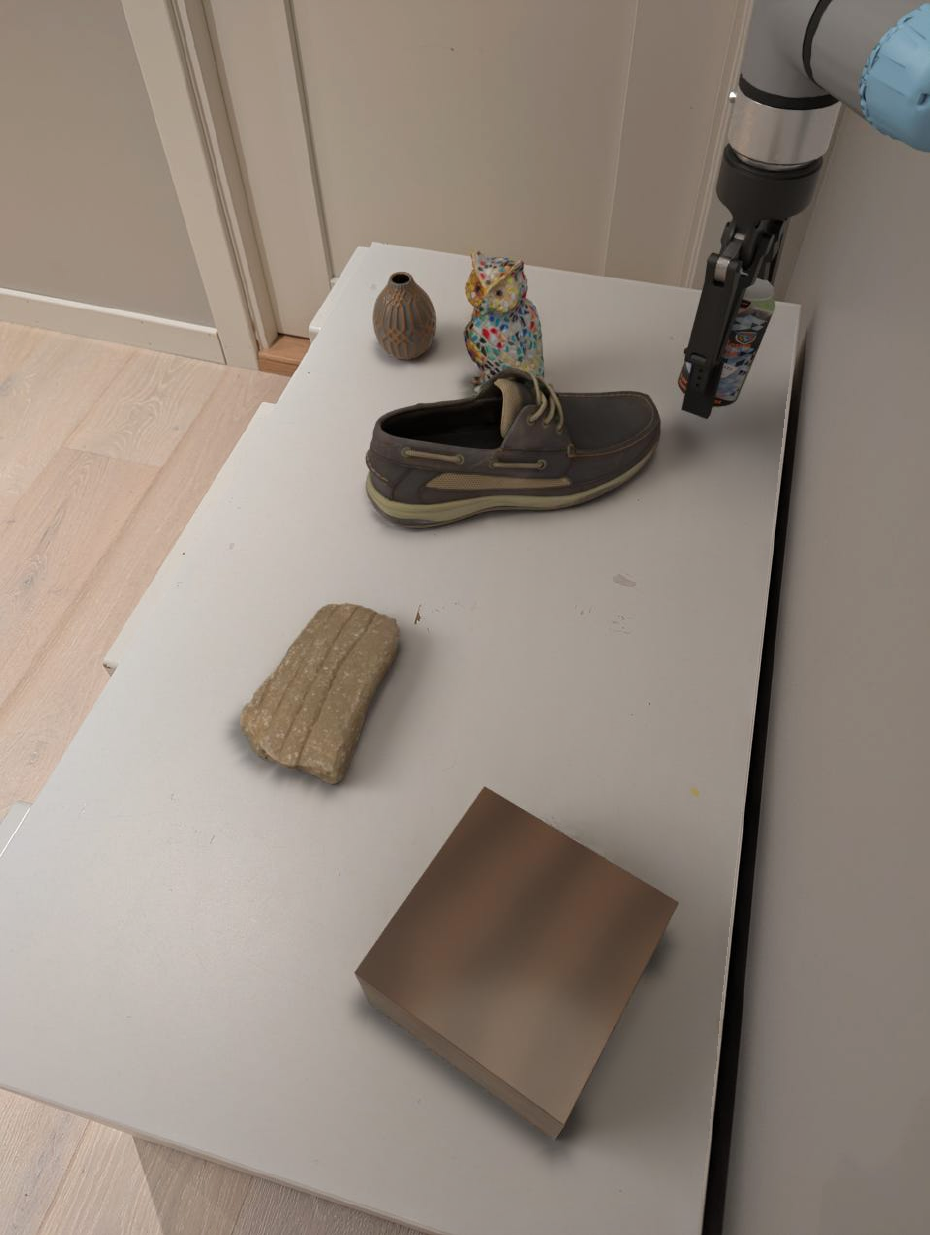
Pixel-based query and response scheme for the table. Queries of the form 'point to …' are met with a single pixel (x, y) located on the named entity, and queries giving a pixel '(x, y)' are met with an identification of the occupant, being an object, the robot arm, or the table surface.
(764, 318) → the beverage can
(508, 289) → the figurine
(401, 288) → the vase
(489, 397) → the boat shoe
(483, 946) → the walnut shelf
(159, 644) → the table surface
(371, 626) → the decorative stone
